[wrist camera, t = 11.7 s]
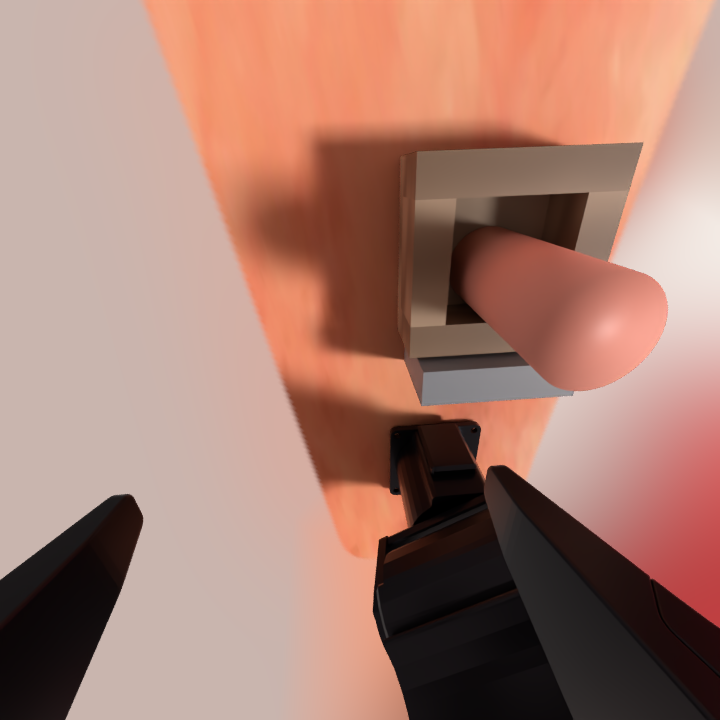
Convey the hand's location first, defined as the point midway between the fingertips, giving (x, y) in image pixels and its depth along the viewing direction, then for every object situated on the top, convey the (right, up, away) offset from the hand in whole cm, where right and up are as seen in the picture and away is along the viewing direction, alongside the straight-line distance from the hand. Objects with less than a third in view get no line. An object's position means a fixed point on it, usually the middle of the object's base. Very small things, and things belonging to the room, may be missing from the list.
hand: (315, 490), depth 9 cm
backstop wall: (+8, +4, +13) cm, 16 cm away
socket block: (+8, +10, +10) cm, 16 cm away
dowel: (+8, +8, +10) cm, 15 cm away
